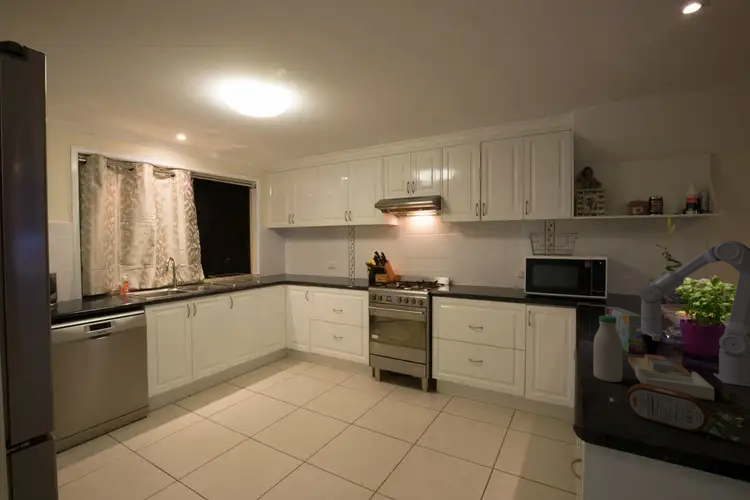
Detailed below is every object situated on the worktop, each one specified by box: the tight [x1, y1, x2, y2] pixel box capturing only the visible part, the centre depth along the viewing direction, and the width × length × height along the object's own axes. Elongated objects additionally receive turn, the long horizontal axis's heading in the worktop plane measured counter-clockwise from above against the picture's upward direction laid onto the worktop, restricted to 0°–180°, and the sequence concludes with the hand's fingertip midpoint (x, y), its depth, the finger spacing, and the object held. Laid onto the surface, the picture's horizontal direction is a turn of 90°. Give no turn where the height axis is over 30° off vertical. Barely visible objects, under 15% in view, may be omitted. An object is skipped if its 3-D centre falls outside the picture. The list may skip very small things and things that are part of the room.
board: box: [627, 355, 692, 377], centre depth 114 cm, size 14×14×2 cm
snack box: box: [605, 306, 643, 355], centre depth 142 cm, size 21×6×15 cm, turn 167°
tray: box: [635, 365, 715, 402], centre depth 101 cm, size 15×13×4 cm
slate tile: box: [649, 359, 673, 372], centre depth 111 cm, size 5×5×2 cm
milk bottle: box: [593, 315, 623, 383], centre depth 108 cm, size 8×8×20 cm
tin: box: [626, 383, 710, 432], centre depth 81 cm, size 15×3×8 cm, turn 45°
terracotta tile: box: [644, 353, 668, 364], centre depth 116 cm, size 5×5×2 cm
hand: (651, 355), depth 121 cm, fingers closed
